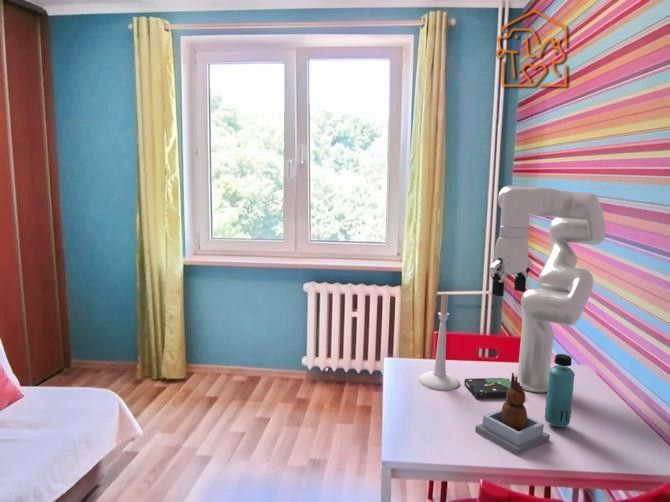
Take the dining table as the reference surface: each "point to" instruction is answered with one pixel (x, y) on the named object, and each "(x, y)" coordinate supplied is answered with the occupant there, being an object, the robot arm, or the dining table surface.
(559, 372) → the beverage bottle
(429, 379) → the candlestick
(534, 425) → the figurine dock
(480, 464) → the dining table surface
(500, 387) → the disk drive
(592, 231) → the robot arm
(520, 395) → the wooden figurine
